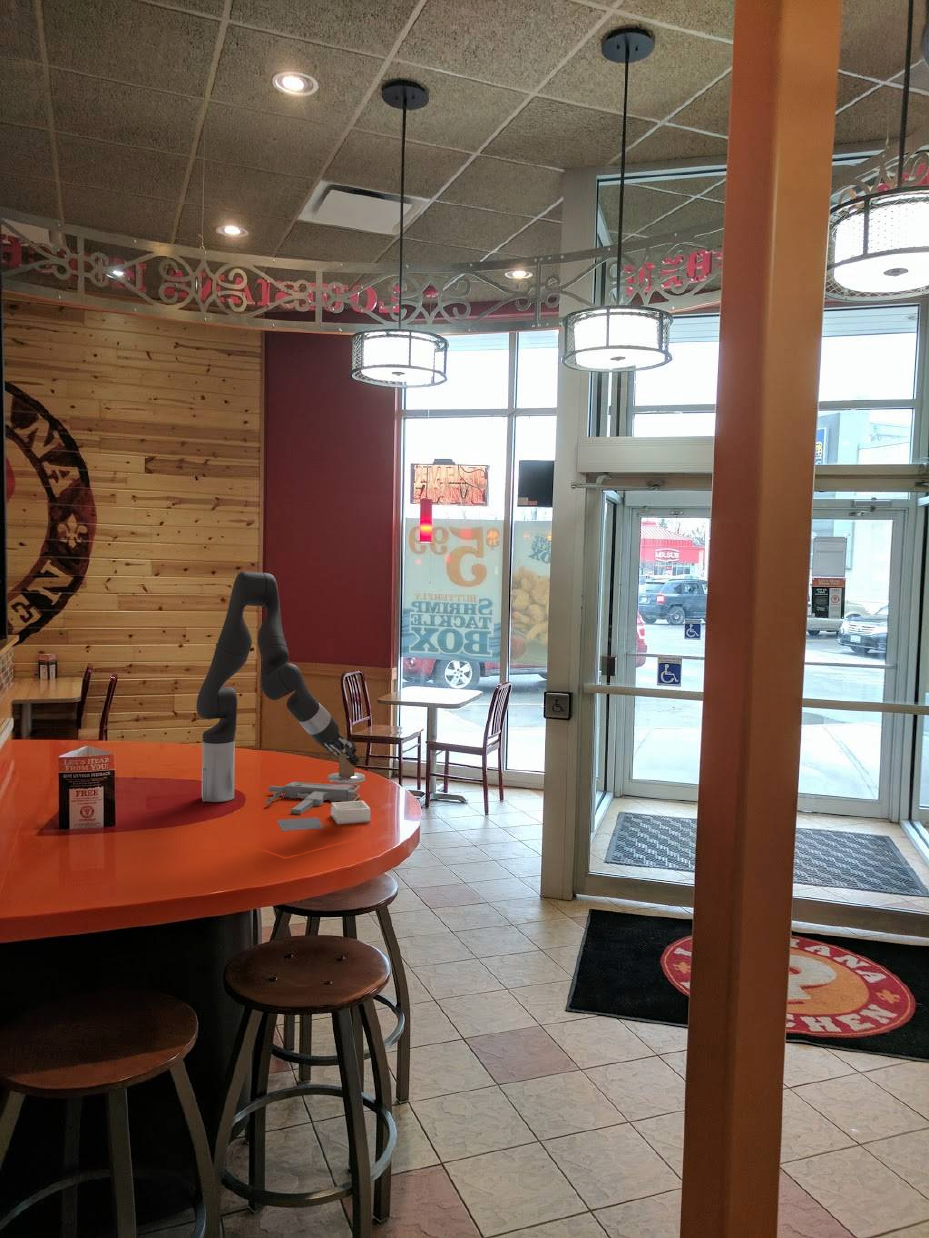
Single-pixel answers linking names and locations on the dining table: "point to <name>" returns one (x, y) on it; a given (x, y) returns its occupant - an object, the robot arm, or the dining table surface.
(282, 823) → the mat
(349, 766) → the lid
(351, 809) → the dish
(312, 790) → the submachine gun
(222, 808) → the dining table surface
